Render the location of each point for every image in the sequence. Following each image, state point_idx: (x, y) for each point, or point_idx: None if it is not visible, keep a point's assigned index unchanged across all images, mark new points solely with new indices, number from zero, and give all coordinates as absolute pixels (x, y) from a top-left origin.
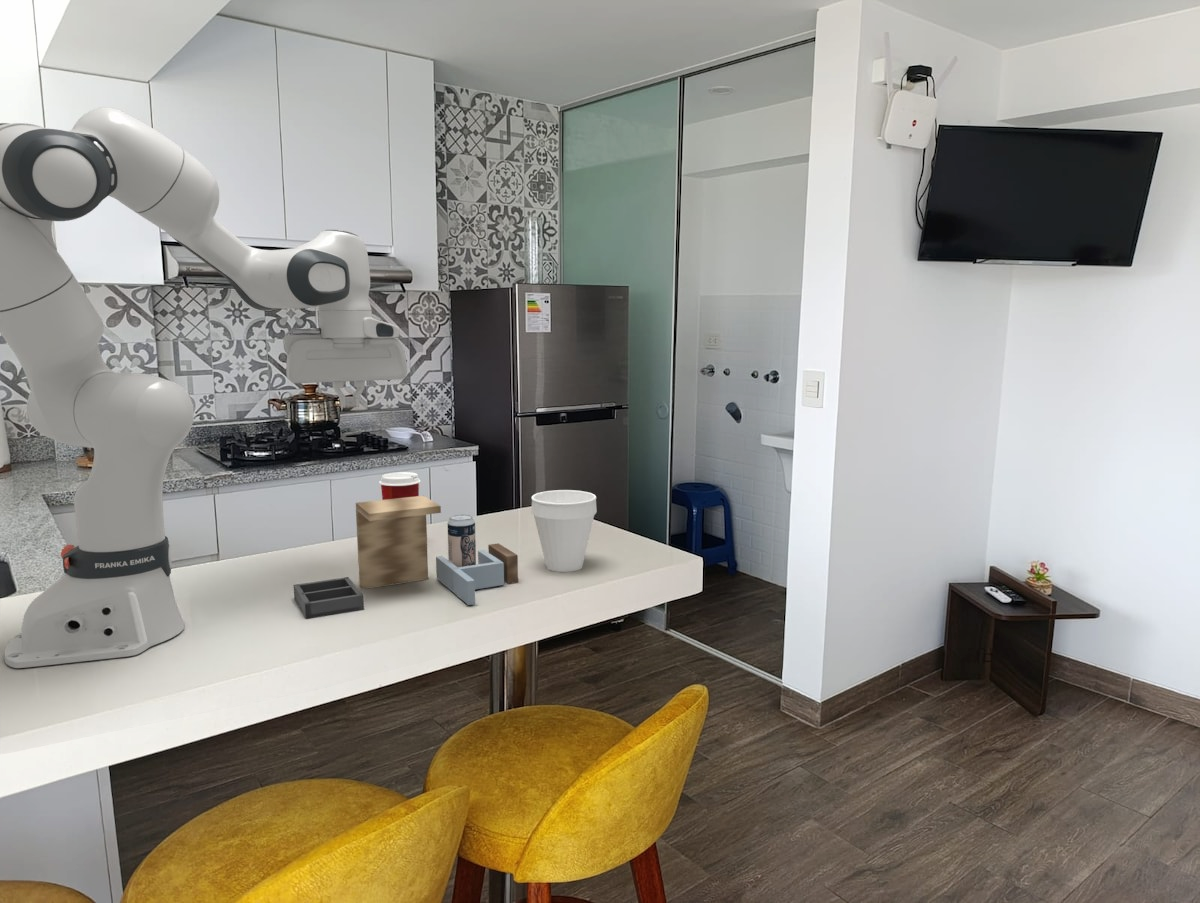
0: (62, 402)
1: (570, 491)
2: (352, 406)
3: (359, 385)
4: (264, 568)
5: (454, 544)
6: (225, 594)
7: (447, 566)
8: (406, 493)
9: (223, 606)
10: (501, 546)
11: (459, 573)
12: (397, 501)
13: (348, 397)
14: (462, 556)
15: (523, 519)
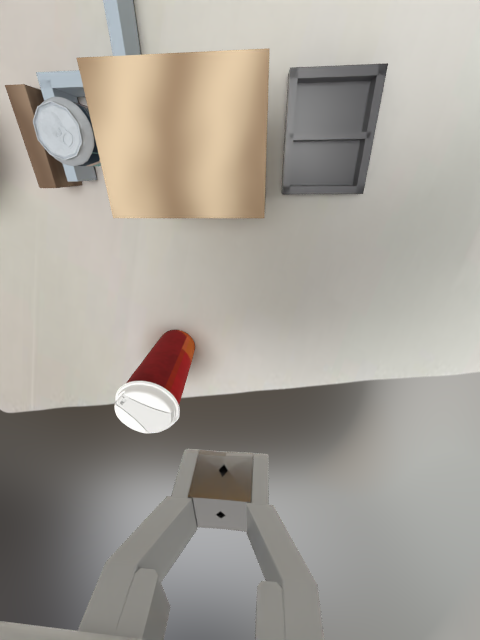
0: None
1: None
2: (217, 451)
3: (135, 586)
4: (343, 337)
5: None
6: (421, 258)
7: None
8: (145, 373)
9: (446, 206)
10: (34, 163)
11: (119, 35)
12: (175, 182)
13: (227, 508)
14: None
15: (27, 378)
